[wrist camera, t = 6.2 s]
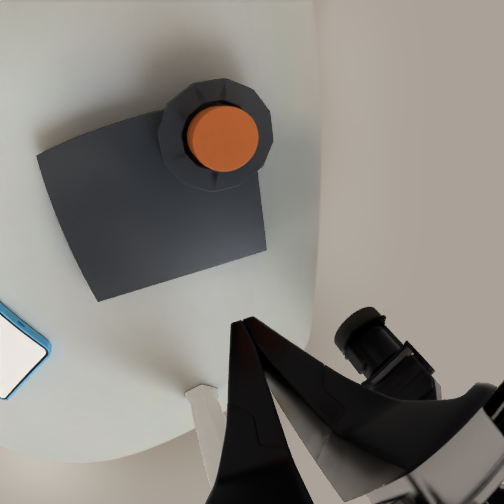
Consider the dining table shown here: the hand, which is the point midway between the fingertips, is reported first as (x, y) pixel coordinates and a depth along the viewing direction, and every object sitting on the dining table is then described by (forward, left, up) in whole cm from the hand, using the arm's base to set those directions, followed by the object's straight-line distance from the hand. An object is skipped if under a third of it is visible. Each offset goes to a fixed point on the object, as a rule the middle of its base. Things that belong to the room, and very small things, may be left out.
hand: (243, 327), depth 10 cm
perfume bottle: (+5, +21, -11) cm, 24 cm away
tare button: (-2, -5, -8) cm, 10 cm away
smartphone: (+24, +7, -11) cm, 27 cm away
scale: (+2, -2, -11) cm, 11 cm away
